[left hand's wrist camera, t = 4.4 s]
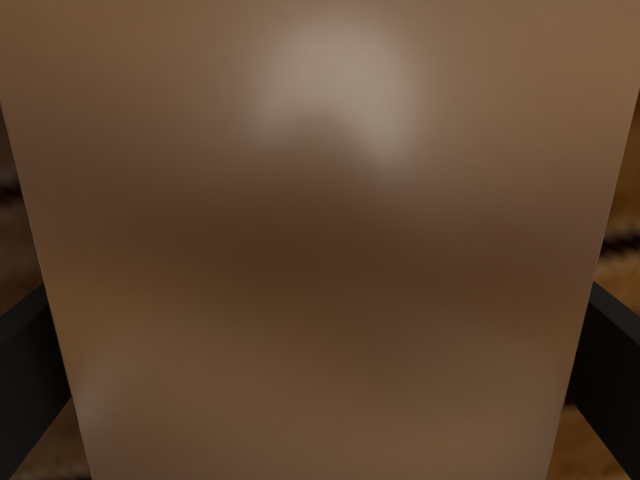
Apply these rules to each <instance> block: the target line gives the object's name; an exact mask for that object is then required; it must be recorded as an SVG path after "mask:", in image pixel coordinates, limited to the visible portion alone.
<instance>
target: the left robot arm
mask: <svg viewBox="0 0 640 480" xmlns="http://www.w3.org/2000/svg"><path fill="white" fill-rule="evenodd" d="M566 394H567V395H568V396H569V398H570V399H571V400H572V402H573V403H574V404H575V406H576V407H577V408H578V410H579V411H580V412H581V414H582V415H583V416H584V418H585V419H586V420H587V422H588V423H589V424H590V426H591V427H592V428H593V430H594V431H595V432H596V434H597V435H598V436H599V437H600V439H601V440H602V441H603V443H604V444H605V445H606V447H607V448H608V449H609V451H610V452H611V453H612V455H613V456H614V457H615V459H616V460H617V461H618V463H619V464H620V465H621V467H622V468H623V469H624V471H625V472H626V473H627V475H628V476H629V477H630V478H631V480H640V317H639V316H638V315H637V314H635V313H634V312H633V311H632V310H630V309H629V308H628V307H626V306H625V305H624V304H623V303H621V302H620V301H619V300H617V299H616V298H615V297H614V296H612V295H611V294H610V293H608V292H607V291H606V290H605V289H603V288H602V287H601V286H599V285H598V284H597V283H596V282H594V281H593V284H592V288H591V292H590V296H589V300H588V304H587V309H586V313H585V317H584V321H583V325H582V329H581V334H580V338H579V342H578V346H577V350H576V354H575V359H574V363H573V367H572V371H571V375H570V379H569V384H568V388H567V392H566ZM70 398H71V392H70V388H69V384H68V380H67V376H66V371H65V367H64V363H63V359H62V355H61V351H60V347H59V343H58V339H57V334H56V330H55V326H54V322H53V318H52V314H51V310H50V306H49V302H48V297H47V293H46V289H45V285H44V283H43V284H42V285H41V286H39V287H38V288H37V289H35V290H34V291H33V292H32V293H30V294H29V295H28V296H26V297H25V298H24V299H23V300H21V301H20V302H19V303H17V304H16V305H15V306H14V307H12V308H11V309H10V310H8V311H7V312H6V313H5V314H3V315H2V316H1V317H0V480H9V478H10V477H11V476H12V474H13V473H14V472H15V471H16V469H17V468H18V467H19V465H20V464H21V463H22V461H23V460H24V459H25V457H26V456H27V455H28V453H29V452H30V451H31V449H32V448H33V447H34V445H35V444H36V443H37V441H38V440H39V439H40V437H41V436H42V435H43V433H44V432H45V431H46V430H47V428H48V427H49V426H50V424H51V423H52V422H53V420H54V419H55V418H56V416H57V415H58V414H59V412H60V411H61V410H62V408H63V407H64V406H65V404H66V403H67V402H68V400H69V399H70Z"/></svg>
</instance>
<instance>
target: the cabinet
mask: <svg viewBox="0 0 640 480" xmlns="http://www.w3.org/2000/svg"><path fill="white" fill-rule="evenodd" d="M639 88H640V0H0V104H1V108H2V112H3V117H4V121H5V125H6V129H7V133H8V137H9V141H10V145H11V149H12V154H13V158H14V162H15V166H16V170H17V174H18V178H19V182H20V186H21V191H22V195H23V199H24V203H25V207H26V211H27V215H28V219H29V223H30V228H31V232H32V236H33V240H34V244H35V248H36V252H37V256H38V260H39V265H40V269H41V273H42V277H43V281H44V285H45V289H46V293H47V297H48V302H49V306H50V310H51V314H52V318H53V322H54V326H55V330H56V334H57V339H58V343H59V347H60V351H61V355H62V359H63V363H64V367H65V371H66V376H67V380H68V384H69V388H70V392H71V396H72V400H73V404H74V408H75V413H76V417H77V421H78V425H79V429H80V433H81V437H82V441H83V445H84V450H85V454H86V458H87V462H88V466H89V470H90V474H91V478H92V480H545V479H546V475H547V471H548V467H549V463H550V458H551V454H552V450H553V446H554V442H555V438H556V433H557V429H558V425H559V421H560V417H561V413H562V408H563V404H564V400H565V396H566V392H567V388H568V384H569V379H570V375H571V371H572V367H573V363H574V359H575V354H576V350H577V346H578V342H579V338H580V334H581V329H582V325H583V321H584V317H585V313H586V309H587V304H588V300H589V296H590V292H591V288H592V284H593V279H594V275H595V271H596V267H597V263H598V259H599V254H600V250H601V246H602V242H603V238H604V234H605V229H606V225H607V221H608V217H609V213H610V209H611V204H612V200H613V196H614V192H615V188H616V184H617V180H618V175H619V171H620V167H621V163H622V159H623V155H624V150H625V146H626V142H627V138H628V134H629V130H630V125H631V121H632V117H633V113H634V109H635V105H636V100H637V96H638V92H639Z"/></svg>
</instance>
